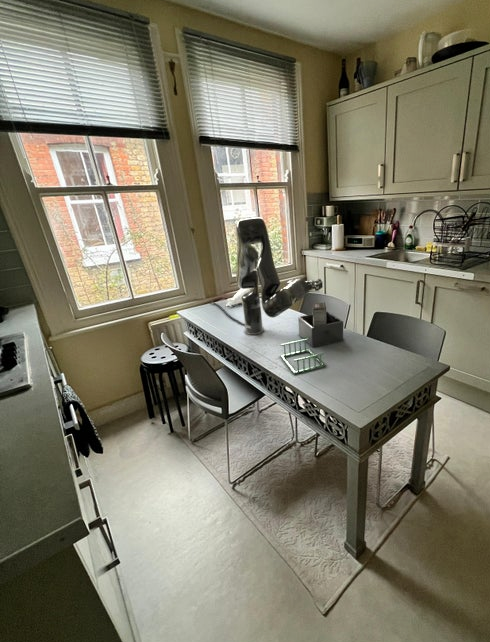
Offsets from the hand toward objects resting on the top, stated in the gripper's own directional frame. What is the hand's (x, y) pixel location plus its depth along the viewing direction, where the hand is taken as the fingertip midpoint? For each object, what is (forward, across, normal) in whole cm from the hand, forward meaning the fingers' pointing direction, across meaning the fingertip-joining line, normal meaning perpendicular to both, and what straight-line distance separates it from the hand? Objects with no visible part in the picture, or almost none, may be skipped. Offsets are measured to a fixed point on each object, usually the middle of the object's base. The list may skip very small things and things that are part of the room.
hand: (310, 280), depth 137 cm
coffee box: (+11, 0, +31) cm, 33 cm away
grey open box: (+11, 0, +32) cm, 34 cm away
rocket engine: (+48, +72, +32) cm, 93 cm away
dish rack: (-15, -1, +32) cm, 35 cm away
